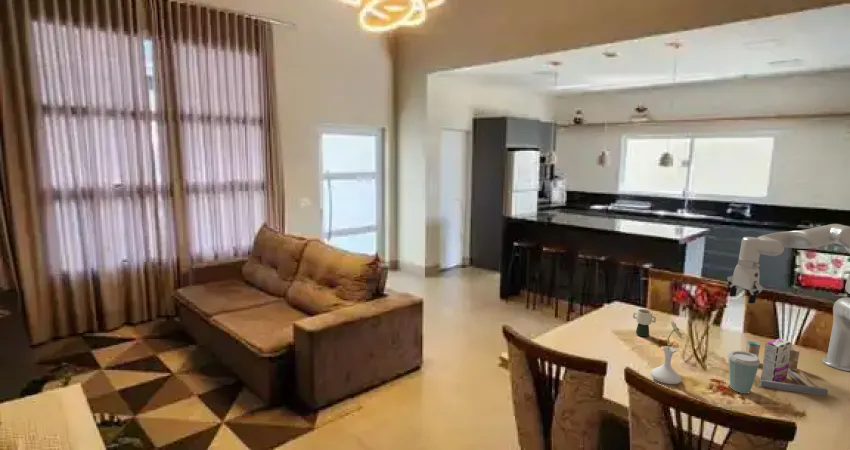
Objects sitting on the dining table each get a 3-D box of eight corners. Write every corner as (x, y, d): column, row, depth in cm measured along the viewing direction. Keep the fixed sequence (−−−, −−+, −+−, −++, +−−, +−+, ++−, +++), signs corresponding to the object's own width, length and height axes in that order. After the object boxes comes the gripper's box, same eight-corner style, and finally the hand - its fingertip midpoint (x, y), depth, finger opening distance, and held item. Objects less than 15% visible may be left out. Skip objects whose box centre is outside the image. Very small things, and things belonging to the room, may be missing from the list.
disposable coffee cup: (744, 398, 177) (749, 362, 175) (717, 385, 187) (722, 351, 185) (761, 394, 182) (767, 358, 179) (733, 381, 191) (739, 347, 189)
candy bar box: (773, 373, 200) (779, 337, 197) (786, 378, 195) (793, 342, 193) (759, 378, 195) (765, 341, 192) (772, 383, 190) (778, 346, 188)
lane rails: (799, 371, 202) (800, 366, 201) (827, 395, 182) (828, 390, 181) (740, 364, 208) (740, 358, 207) (760, 386, 187) (761, 380, 187)
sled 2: (794, 367, 206) (797, 348, 204) (822, 392, 184) (826, 371, 183) (781, 366, 207) (784, 347, 206) (808, 390, 185) (812, 369, 184)
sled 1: (777, 365, 207) (780, 345, 206) (804, 390, 186) (808, 367, 184) (738, 360, 211) (741, 340, 210) (760, 383, 190) (763, 361, 188)
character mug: (654, 335, 238) (657, 311, 235) (652, 339, 232) (655, 315, 230) (632, 330, 244) (635, 307, 242) (629, 334, 238) (632, 310, 236)
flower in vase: (679, 390, 182) (687, 330, 178) (648, 381, 188) (655, 323, 184) (681, 377, 193) (689, 320, 189) (652, 369, 199) (658, 314, 195)
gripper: (772, 268, 203) (765, 305, 206) (737, 259, 219) (731, 293, 222) (759, 268, 201) (752, 306, 204) (724, 259, 218) (719, 293, 220)
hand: (741, 299), depth 213 cm, fingers open, 9 cm apart
